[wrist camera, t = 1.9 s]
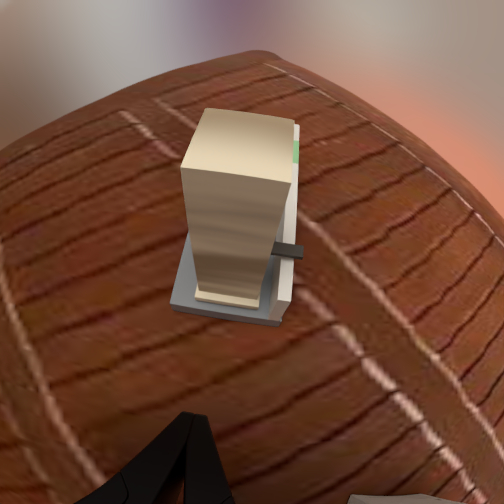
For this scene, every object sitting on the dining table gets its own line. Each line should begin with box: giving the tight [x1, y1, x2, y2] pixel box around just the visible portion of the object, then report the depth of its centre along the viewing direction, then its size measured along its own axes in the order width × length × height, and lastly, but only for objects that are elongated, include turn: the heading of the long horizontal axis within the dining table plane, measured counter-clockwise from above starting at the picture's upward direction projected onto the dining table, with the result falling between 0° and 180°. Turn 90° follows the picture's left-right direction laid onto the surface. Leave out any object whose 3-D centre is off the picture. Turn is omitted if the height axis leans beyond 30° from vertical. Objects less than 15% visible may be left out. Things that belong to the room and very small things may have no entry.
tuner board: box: [170, 124, 299, 327], centre depth 24 cm, size 17×8×6 cm, turn 173°
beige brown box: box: [180, 108, 303, 310], centre depth 17 cm, size 5×6×12 cm
